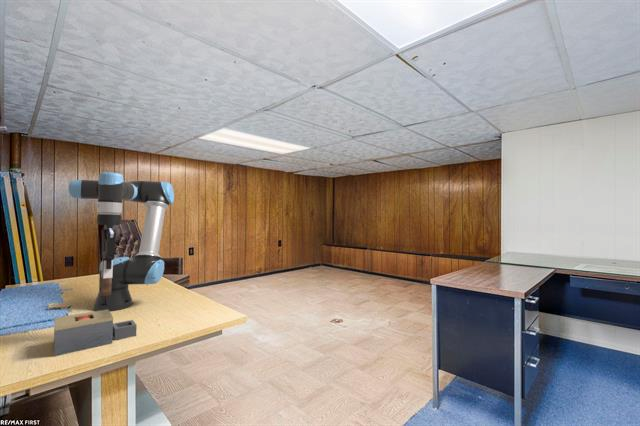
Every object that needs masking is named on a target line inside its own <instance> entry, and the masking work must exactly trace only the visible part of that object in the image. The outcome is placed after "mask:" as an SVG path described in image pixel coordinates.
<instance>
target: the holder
mask: <svg viewBox="0 0 640 426" xmlns="http://www.w3.org/2000/svg"><path fill="white" fill-rule="evenodd" d="M136 336H137V323H136V322H135V321H134V320H133V319H130V320H125V321H120V322H119V321H118V322H113V340H114V341H118V340H122V339H128V338H131V337H136Z"/></svg>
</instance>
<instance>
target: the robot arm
mask: <svg viewBox="0 0 640 426" xmlns="http://www.w3.org/2000/svg"><path fill="white" fill-rule="evenodd" d="M68 193H69V195H70V197H72V198H74V199H80V200H83V199H84V200H97V204H95V207H96V208H97V210H96V211H97V213H99V214H97V215H96V224H97V225H102V226H103V225H104V226H103V229H101V254H100V256H101V258H102V260H101V262H100V263H99V269H98V271H99V275H98V276H99V281H98V282H99V284H98V293H97V296H96V298H95V301H94V304H93V310H94V311H101V310H107V309H108V310H109V311H110V312H113V311H119V310H123V309H126V308H129V307H131V306H132V305H133V298H132V295H131V293H130V290H129V285H131V286H132V285H147V286H149V285H154V284H155V285H156V284H157V283H159V282H160V281H161V279H162V278H163V275H164V271H165V261H164V260H162V256H161V255H160V254H159V253H160V246H161V240H162V233H163V228H164V219H165V213H166V210H168V209H169V207H170V205H173V204H174V203H175V192H174V188H173V185H172V183H170V182H168V181H162V180H161V181H154V180H153V181H152V180H133V181H124V175H123V174H122V173H119V172H118V173H117V172H112V171H110V172H109V171H103V172H100V173H99V176H98V180H94V179H92V180H91V179H73V180H71V181H70V183H69V184H68ZM123 201H127V202H133V203H141V204H142V203H143V206H144V207H146V209H145V210H146V211H145V216H144V222H143V227H142V233H141V238H140V245H139V251H138V253H137V254H135V255H134V258H133V259H130V257H129V256H121V257H120V256H119V257H115V254H116V241H117V229H115V225H116V226H117V225H122V219H123V218H122V215H121V214H123ZM104 251H105V258H104V259H103V252H104ZM103 261H104V269H103V278H112V286H111V295H107V296H101V289H102V267H103Z"/></svg>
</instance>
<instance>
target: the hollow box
mask: <svg viewBox="0 0 640 426" xmlns="http://www.w3.org/2000/svg"><path fill="white" fill-rule="evenodd" d="M86 317H89V318H90V319H86V320H80V321H78V320H79V319H81V318H86ZM113 323H114V316H113V314H112V313H111V311H109V310H108V309H107V310H101V311H96V310H94V311H90V312H83V313H76V314H72V315H70V314H69V315H65V316H59V317H54V326H53V327H54V329H53V330H54V331H53V333H54V334H53V349H54V350H53V351H54V357H58V356H63V355H66V354H71V353H74V352H80V351H83V350H89V349H93V348H97V347H102V346H107V345H112V344H113V340H114V338H113Z"/></svg>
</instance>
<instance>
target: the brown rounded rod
mask: <svg viewBox="0 0 640 426" xmlns="http://www.w3.org/2000/svg"><path fill="white" fill-rule="evenodd" d="M104 258H105V251H104V252H103V259H104ZM103 269H104V261H103V267H102V289H101V296H107V295H111V286H112V278H103Z"/></svg>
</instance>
